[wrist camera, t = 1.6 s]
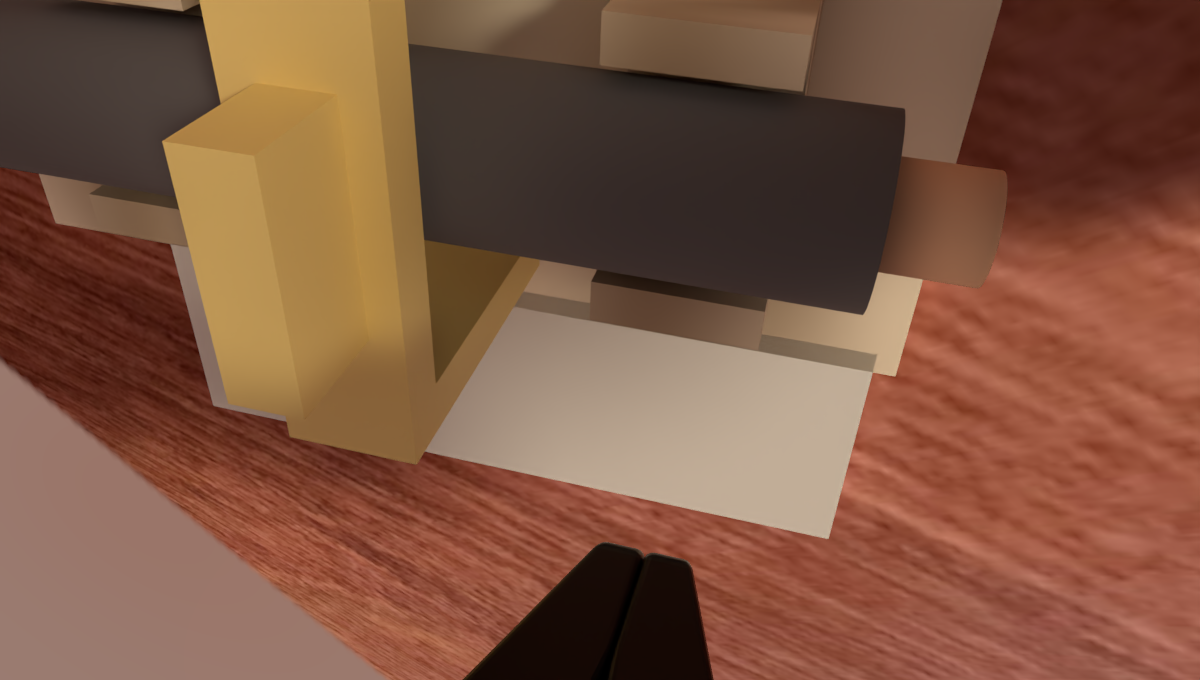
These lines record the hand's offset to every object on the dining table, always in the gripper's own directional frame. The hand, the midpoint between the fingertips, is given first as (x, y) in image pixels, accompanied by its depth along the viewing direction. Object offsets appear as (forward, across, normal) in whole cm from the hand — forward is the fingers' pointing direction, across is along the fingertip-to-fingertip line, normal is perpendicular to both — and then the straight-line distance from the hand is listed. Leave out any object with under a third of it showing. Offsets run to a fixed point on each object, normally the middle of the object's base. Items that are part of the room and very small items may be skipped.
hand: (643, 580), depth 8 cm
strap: (+13, +6, 0) cm, 14 cm away
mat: (+13, +6, +8) cm, 17 cm away
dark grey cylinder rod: (+8, +6, 0) cm, 10 cm away
